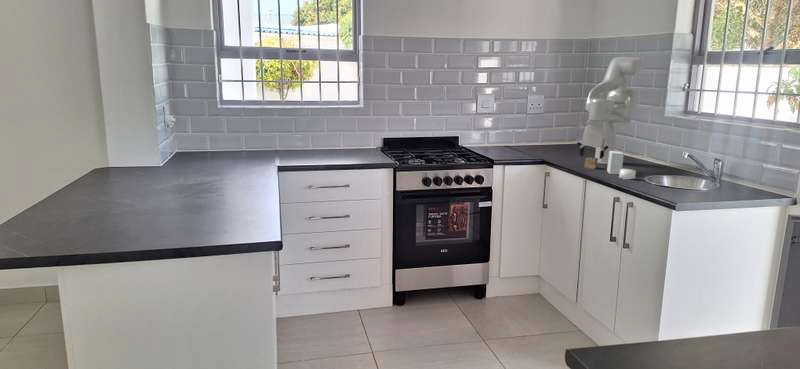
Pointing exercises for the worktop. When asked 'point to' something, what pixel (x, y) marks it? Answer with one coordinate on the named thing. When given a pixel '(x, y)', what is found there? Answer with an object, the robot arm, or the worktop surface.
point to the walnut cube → (591, 162)
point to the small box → (615, 162)
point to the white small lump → (627, 174)
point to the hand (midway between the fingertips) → (591, 157)
